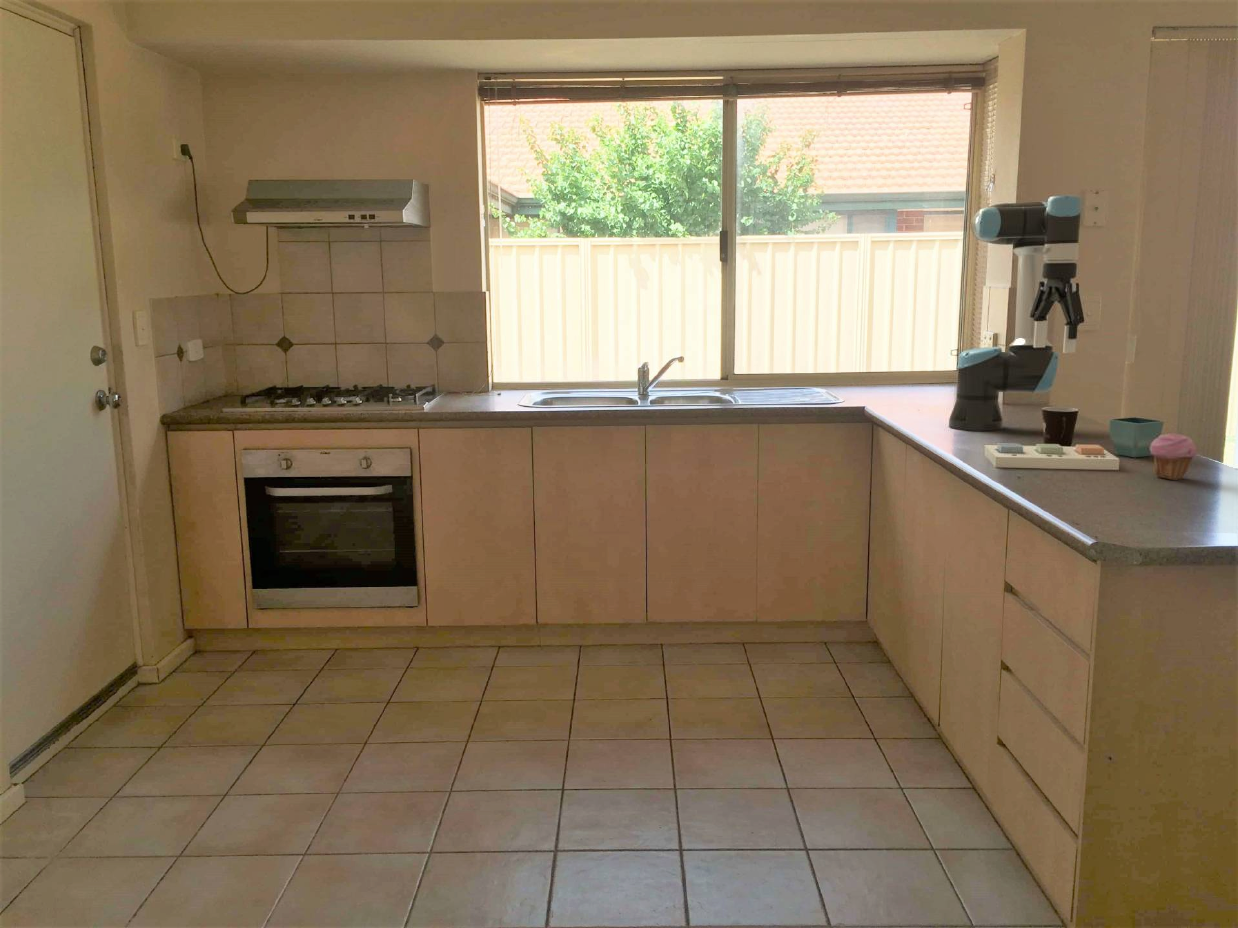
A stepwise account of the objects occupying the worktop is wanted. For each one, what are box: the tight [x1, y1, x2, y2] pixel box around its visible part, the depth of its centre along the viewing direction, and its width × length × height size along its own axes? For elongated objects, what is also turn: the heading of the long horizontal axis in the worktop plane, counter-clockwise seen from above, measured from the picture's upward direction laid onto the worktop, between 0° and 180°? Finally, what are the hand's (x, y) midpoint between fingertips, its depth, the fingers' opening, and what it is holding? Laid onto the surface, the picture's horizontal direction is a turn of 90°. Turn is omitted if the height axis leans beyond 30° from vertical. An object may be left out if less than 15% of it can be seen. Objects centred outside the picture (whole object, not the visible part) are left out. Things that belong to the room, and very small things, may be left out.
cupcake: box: [1150, 433, 1197, 481], centre depth 216 cm, size 9×9×10 cm
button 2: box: [1035, 443, 1063, 454], centre depth 236 cm, size 5×5×3 cm
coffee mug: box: [1041, 406, 1079, 447], centre depth 254 cm, size 12×9×10 cm
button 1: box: [996, 442, 1023, 454], centre depth 238 cm, size 5×5×3 cm
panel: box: [983, 444, 1120, 471], centre depth 237 cm, size 16×27×3 cm, turn 79°
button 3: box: [1075, 444, 1105, 455], centre depth 235 cm, size 5×5×3 cm
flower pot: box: [1108, 416, 1165, 459], centre depth 242 cm, size 9×9×9 cm
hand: (1053, 350), depth 241 cm, fingers open, 13 cm apart
